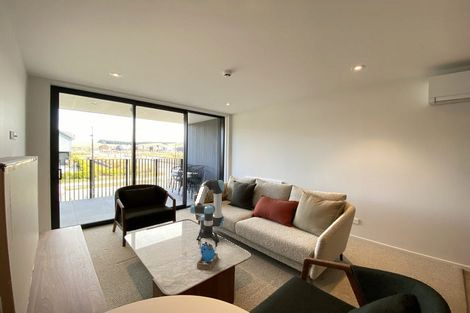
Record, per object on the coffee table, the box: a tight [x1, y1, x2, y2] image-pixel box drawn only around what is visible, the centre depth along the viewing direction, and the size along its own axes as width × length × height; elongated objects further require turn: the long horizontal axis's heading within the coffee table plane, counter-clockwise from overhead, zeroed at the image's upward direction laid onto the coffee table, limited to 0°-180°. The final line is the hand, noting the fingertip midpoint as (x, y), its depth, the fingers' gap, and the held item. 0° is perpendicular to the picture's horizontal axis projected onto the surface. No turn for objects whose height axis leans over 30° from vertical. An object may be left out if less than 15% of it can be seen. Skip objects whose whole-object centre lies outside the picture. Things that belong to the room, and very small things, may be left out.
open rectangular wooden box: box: [196, 252, 219, 271], centre depth 168 cm, size 19×12×4 cm, turn 168°
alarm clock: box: [200, 241, 216, 262], centre depth 168 cm, size 13×6×15 cm, turn 44°
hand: (207, 249), depth 168 cm, fingers closed on alarm clock, 13 cm apart
